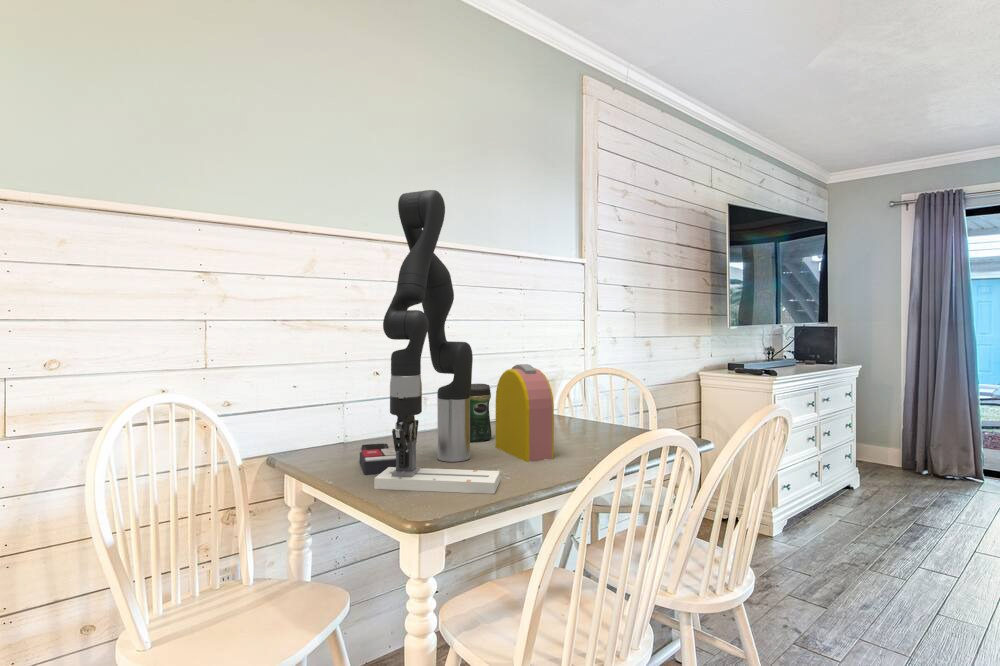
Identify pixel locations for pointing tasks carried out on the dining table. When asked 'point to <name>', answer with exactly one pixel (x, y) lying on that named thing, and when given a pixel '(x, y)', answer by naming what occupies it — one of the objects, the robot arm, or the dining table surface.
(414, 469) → the fader tab
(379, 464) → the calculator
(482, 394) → the coffee jar
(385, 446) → the phone
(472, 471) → the fader console
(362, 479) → the dining table surface
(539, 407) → the lunch box
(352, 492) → the dining table surface
